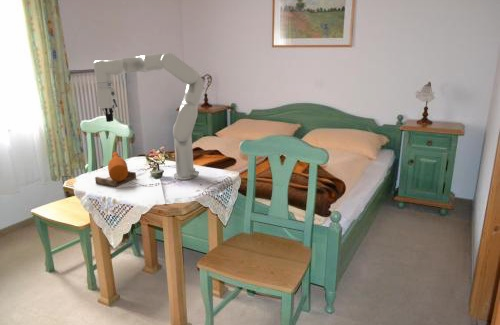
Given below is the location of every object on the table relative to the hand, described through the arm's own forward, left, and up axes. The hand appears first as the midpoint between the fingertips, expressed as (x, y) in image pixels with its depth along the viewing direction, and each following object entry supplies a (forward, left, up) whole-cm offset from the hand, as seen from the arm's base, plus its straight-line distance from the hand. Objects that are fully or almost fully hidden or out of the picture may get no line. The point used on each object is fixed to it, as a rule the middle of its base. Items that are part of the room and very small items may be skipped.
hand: (110, 121), depth 201 cm
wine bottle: (-6, +4, -27) cm, 28 cm away
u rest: (+1, 0, -33) cm, 33 cm away
